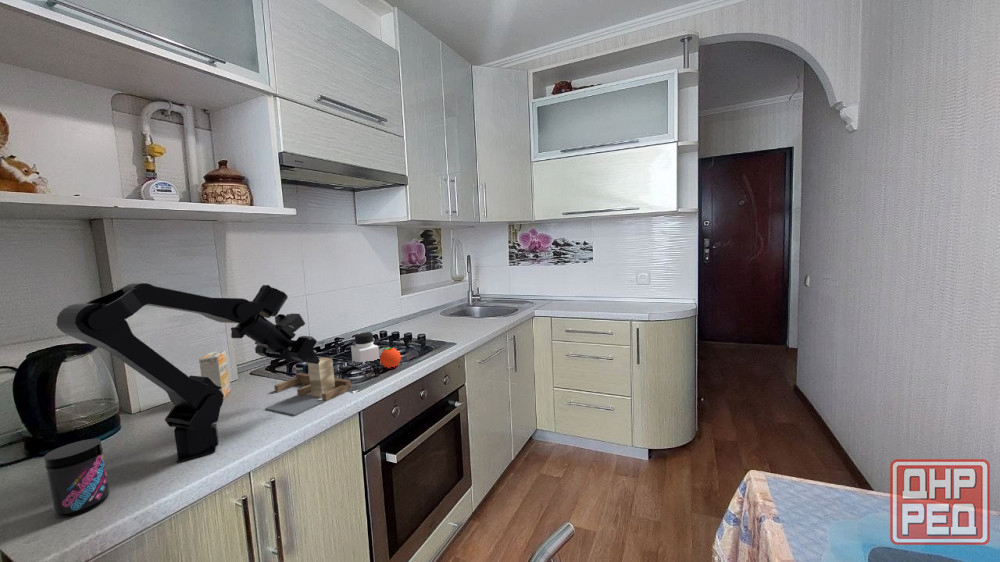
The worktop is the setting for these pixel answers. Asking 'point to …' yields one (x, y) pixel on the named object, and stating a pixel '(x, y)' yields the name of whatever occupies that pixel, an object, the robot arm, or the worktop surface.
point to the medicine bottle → (364, 348)
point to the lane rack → (303, 378)
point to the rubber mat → (295, 405)
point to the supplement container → (77, 477)
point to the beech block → (321, 376)
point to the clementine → (390, 357)
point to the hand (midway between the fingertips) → (307, 361)
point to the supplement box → (216, 370)
